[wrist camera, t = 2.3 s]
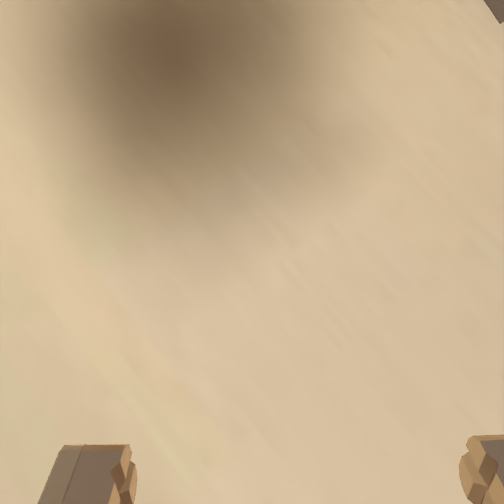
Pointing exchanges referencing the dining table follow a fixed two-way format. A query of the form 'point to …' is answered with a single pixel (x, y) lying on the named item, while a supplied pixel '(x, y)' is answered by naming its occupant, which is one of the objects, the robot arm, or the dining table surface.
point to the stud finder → (497, 9)
